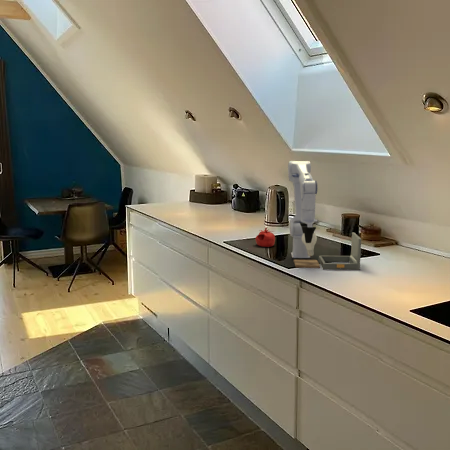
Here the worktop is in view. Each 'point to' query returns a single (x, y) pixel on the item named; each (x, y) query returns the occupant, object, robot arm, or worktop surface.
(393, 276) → the worktop surface
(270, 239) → the pomegranate
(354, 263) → the case
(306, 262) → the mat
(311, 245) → the lightbulb
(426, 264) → the worktop surface
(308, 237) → the robot arm
